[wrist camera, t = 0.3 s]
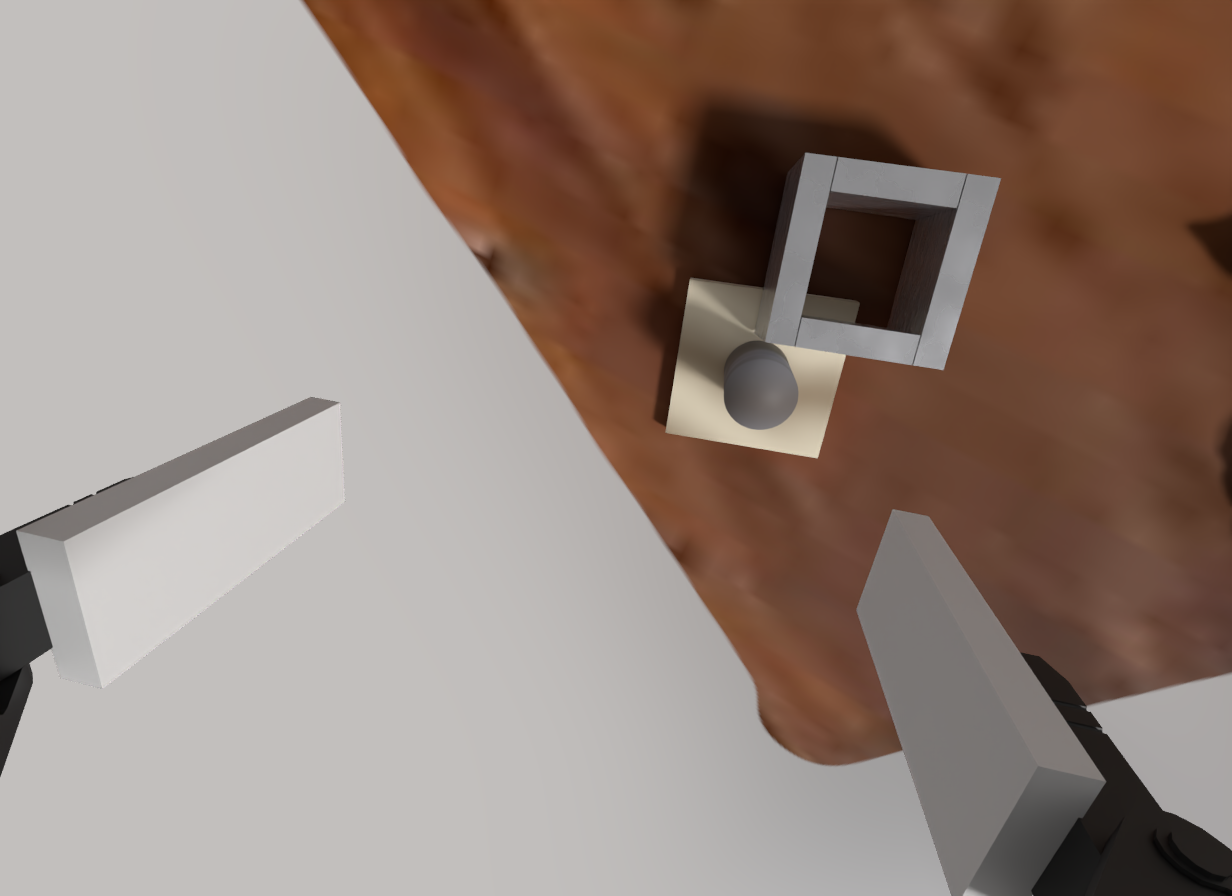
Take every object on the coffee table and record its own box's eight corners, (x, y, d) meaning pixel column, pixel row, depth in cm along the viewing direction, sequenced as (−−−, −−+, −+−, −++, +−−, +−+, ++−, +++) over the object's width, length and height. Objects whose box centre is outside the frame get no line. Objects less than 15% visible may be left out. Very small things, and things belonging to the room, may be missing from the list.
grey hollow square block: (787, 172, 34) (805, 152, 28) (951, 194, 33) (1001, 178, 28) (754, 333, 36) (764, 342, 31) (905, 356, 35) (943, 369, 30)
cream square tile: (690, 277, 37) (684, 290, 31) (856, 300, 36) (880, 317, 30) (666, 427, 41) (657, 462, 35) (815, 452, 40) (830, 492, 34)
